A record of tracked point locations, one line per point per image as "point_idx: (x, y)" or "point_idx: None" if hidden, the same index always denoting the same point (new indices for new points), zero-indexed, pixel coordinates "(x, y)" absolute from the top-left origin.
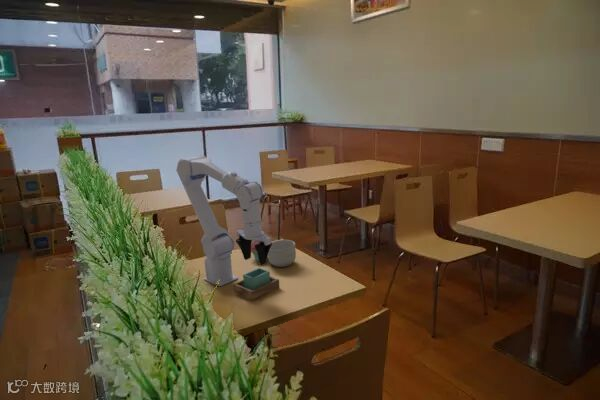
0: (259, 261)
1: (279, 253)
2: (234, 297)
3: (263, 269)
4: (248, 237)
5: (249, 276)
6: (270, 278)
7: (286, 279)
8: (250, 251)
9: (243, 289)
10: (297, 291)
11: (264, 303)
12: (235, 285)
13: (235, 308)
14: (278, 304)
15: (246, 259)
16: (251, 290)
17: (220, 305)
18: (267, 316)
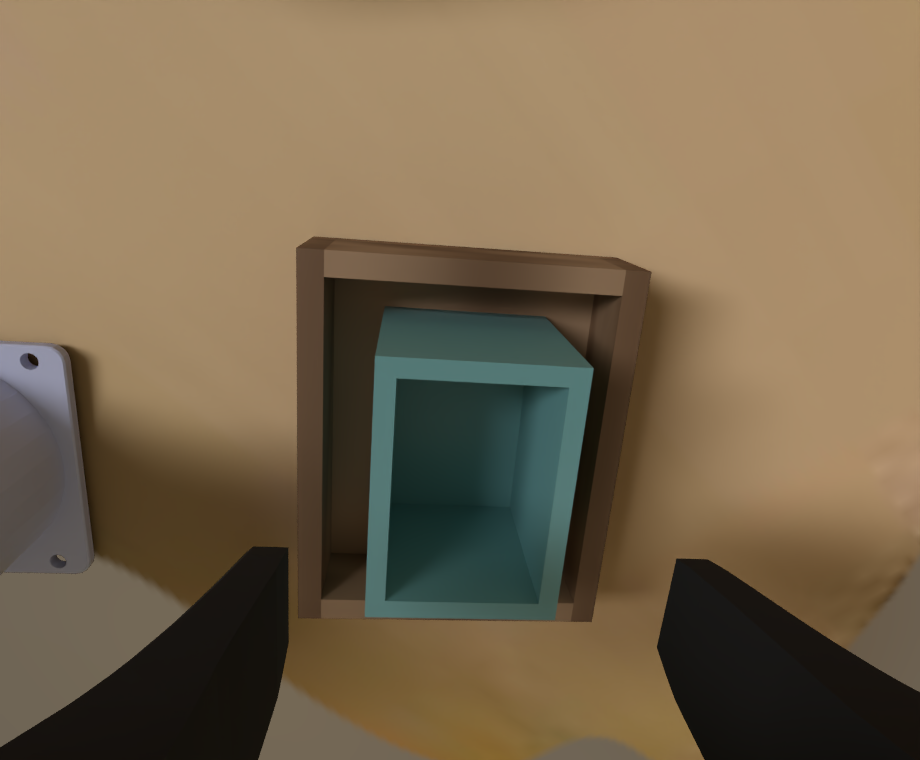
0: (695, 717)
1: None
2: None
3: (478, 371)
4: None
5: (476, 609)
6: (527, 289)
7: (553, 31)
8: (249, 620)
9: None
10: (823, 216)
11: (676, 542)
12: (333, 615)
13: (529, 699)
14: (788, 493)
15: (287, 633)
16: (559, 605)
17: (397, 732)
18: None
